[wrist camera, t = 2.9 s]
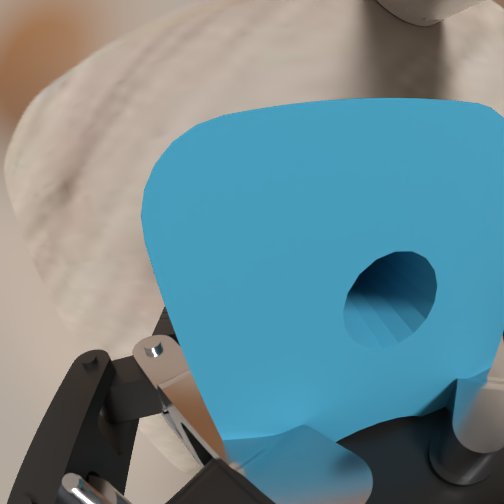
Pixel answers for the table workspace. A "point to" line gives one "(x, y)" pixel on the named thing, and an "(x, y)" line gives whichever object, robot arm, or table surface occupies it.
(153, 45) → the table surface
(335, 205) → the block
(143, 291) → the table surface
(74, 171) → the table surface
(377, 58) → the table surface
